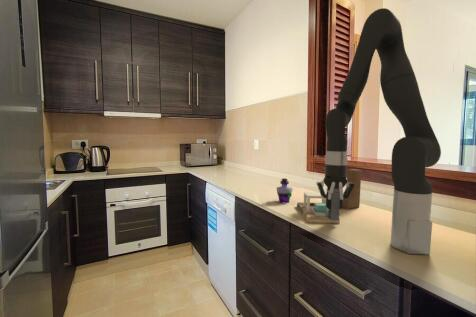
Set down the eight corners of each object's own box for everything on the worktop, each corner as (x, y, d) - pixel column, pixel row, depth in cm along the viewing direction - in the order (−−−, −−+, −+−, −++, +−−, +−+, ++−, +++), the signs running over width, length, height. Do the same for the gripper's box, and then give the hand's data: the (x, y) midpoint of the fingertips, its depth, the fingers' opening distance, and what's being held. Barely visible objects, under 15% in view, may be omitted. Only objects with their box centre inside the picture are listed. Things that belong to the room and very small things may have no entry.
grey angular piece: (338, 220, 92) (340, 188, 91) (317, 219, 92) (319, 188, 91) (329, 212, 102) (330, 183, 101) (310, 211, 103) (311, 183, 102)
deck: (339, 223, 95) (339, 218, 95) (308, 222, 95) (308, 217, 95) (322, 207, 117) (322, 202, 117) (297, 206, 118) (297, 202, 118)
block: (327, 215, 98) (327, 205, 97) (316, 215, 98) (317, 205, 98) (323, 212, 102) (324, 203, 101) (314, 212, 102) (314, 202, 102)
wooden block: (347, 209, 114) (349, 170, 112) (339, 207, 118) (340, 169, 116) (359, 207, 118) (361, 169, 116) (351, 204, 122) (353, 168, 120)
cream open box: (328, 211, 103) (329, 196, 103) (307, 211, 104) (307, 195, 103) (323, 206, 110) (324, 192, 110) (303, 206, 111) (304, 192, 110)
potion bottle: (289, 204, 121) (289, 180, 120) (272, 202, 126) (273, 178, 125) (294, 200, 129) (295, 178, 128) (279, 198, 133) (279, 176, 132)
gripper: (319, 164, 88) (317, 211, 90) (359, 164, 87) (357, 212, 89) (314, 162, 96) (312, 205, 97) (351, 162, 95) (348, 206, 96)
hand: (333, 208), depth 93 cm, fingers closed on grey angular piece, 3 cm apart
